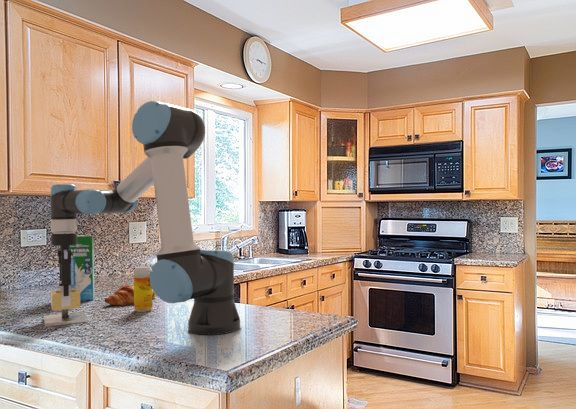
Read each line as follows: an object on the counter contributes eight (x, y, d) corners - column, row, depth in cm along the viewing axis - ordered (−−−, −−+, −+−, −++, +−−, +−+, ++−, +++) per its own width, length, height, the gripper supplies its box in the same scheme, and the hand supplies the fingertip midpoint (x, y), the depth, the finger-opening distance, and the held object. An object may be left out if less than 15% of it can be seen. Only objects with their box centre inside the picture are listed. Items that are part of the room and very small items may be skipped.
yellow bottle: (147, 312, 162) (146, 268, 162) (130, 312, 164) (130, 268, 164) (155, 308, 168) (155, 266, 168) (139, 308, 170) (139, 265, 170)
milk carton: (94, 296, 193) (93, 234, 193) (93, 300, 185) (92, 235, 185) (70, 297, 191) (69, 235, 191) (67, 302, 182) (66, 236, 182)
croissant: (152, 305, 190) (146, 287, 193) (165, 296, 185) (159, 277, 187) (101, 314, 174) (96, 293, 177) (114, 304, 169) (109, 283, 171)
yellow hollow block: (80, 307, 151) (80, 291, 152) (52, 310, 148) (52, 294, 148) (78, 304, 158) (77, 288, 159) (51, 306, 155) (50, 291, 155)
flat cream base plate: (87, 321, 150) (87, 302, 150) (44, 326, 145) (44, 307, 145) (84, 314, 161) (83, 296, 161) (44, 318, 155) (43, 300, 155)
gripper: (79, 233, 145) (80, 308, 145) (74, 230, 164) (75, 297, 164) (52, 234, 142) (53, 311, 142) (50, 231, 160) (51, 299, 160)
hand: (65, 303), depth 153 cm, fingers closed on yellow hollow block, 8 cm apart
